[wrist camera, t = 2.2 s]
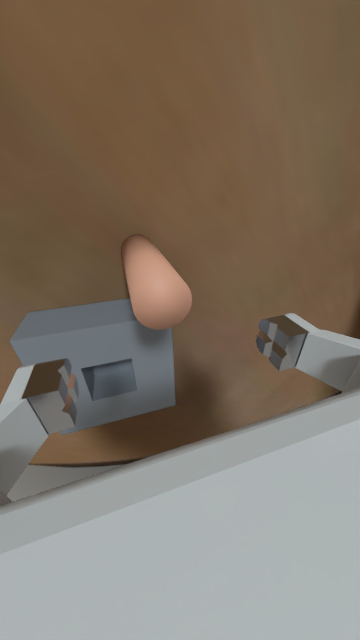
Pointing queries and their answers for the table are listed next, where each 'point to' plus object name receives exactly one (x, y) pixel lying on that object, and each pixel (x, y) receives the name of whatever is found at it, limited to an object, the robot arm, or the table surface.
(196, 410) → the table surface
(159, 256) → the peg
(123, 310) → the socket block
